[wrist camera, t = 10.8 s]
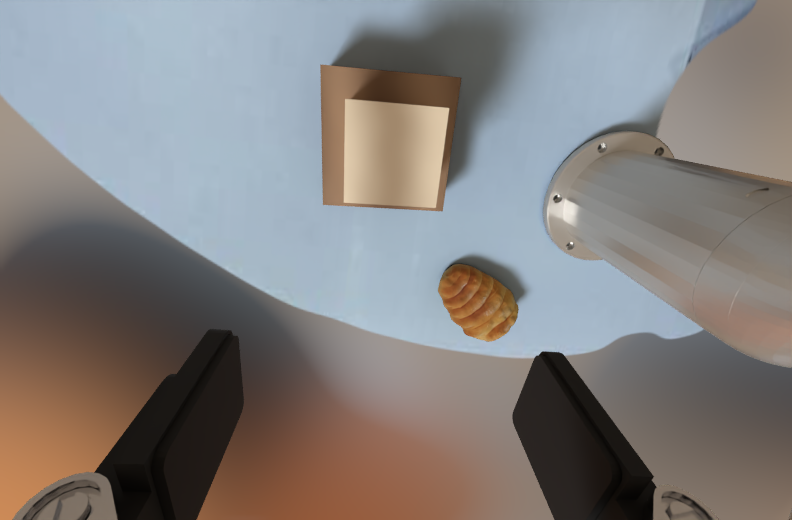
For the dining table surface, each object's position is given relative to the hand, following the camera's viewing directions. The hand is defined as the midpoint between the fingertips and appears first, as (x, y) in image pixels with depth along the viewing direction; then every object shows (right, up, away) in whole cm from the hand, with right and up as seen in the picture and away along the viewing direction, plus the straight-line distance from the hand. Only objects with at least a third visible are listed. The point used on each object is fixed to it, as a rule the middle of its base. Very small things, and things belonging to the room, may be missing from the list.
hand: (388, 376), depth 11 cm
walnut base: (-1, +14, +19) cm, 24 cm away
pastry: (+9, -1, +27) cm, 29 cm away
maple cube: (0, +13, +15) cm, 20 cm away
